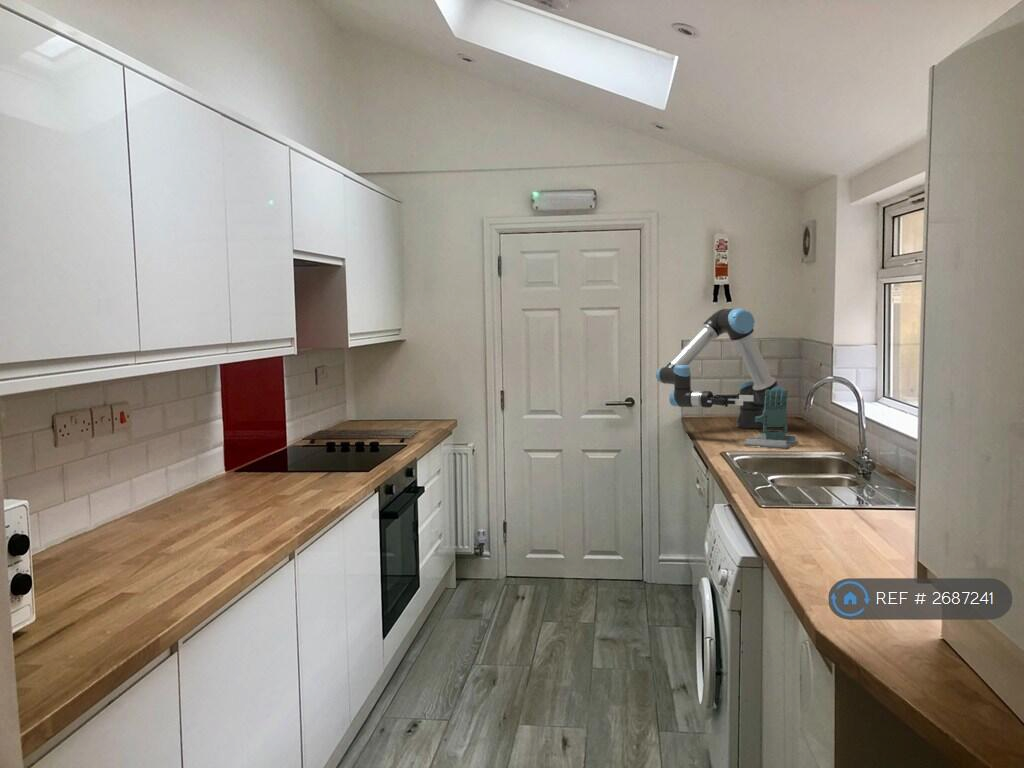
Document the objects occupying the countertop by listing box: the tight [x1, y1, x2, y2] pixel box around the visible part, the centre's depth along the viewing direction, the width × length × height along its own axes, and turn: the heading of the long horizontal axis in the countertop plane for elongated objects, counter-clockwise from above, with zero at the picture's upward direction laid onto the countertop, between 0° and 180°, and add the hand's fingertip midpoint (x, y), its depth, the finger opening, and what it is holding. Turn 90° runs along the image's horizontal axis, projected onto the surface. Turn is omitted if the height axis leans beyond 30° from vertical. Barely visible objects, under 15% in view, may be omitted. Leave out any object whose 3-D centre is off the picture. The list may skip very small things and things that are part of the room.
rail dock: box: [743, 432, 799, 450], centre depth 355 cm, size 18×18×4 cm
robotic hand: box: [755, 389, 789, 440], centre depth 352 cm, size 14×10×25 cm
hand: (748, 400), depth 358 cm, fingers open, 13 cm apart
